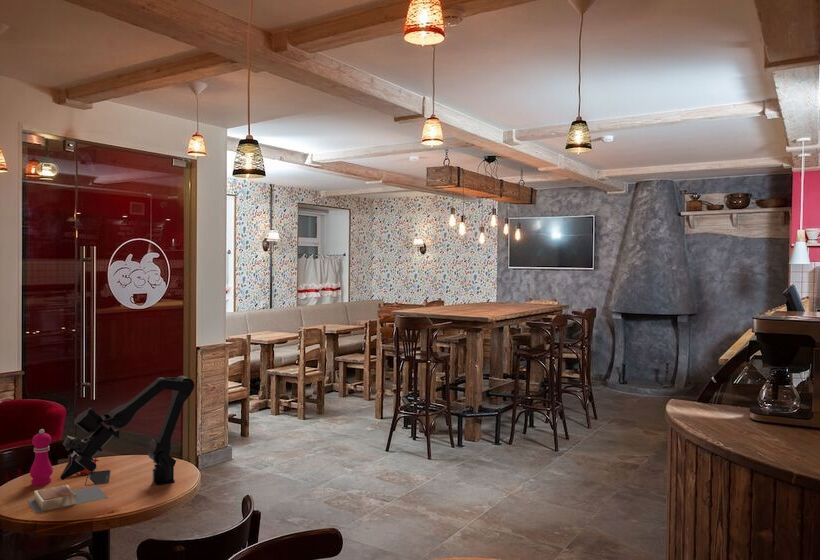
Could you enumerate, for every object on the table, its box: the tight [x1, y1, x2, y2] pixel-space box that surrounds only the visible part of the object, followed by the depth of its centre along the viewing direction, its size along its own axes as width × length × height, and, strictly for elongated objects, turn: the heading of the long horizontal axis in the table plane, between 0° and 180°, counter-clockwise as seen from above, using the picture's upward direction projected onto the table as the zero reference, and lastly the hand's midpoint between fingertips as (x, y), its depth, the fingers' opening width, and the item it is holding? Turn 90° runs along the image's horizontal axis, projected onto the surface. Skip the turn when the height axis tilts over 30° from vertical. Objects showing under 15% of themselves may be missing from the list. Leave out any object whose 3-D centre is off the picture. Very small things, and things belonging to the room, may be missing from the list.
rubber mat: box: [26, 485, 109, 514], centre depth 218 cm, size 22×14×1 cm, turn 130°
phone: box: [84, 469, 111, 487], centre depth 238 cm, size 8×1×15 cm
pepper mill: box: [29, 428, 54, 487], centre depth 232 cm, size 7×7×20 cm
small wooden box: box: [33, 484, 76, 512], centre depth 215 cm, size 3×12×10 cm
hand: (61, 478), depth 216 cm, fingers closed
